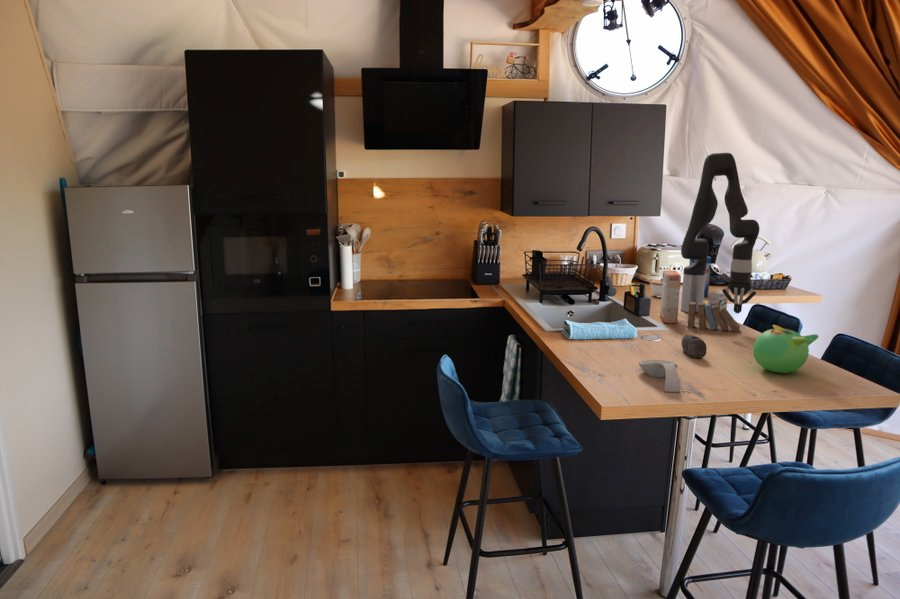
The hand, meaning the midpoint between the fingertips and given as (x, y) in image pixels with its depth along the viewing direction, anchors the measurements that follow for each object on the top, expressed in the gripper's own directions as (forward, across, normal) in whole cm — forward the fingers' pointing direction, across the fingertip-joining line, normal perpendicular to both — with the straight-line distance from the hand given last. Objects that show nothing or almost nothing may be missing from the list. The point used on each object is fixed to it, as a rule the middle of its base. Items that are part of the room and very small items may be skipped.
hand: (737, 313), depth 262 cm
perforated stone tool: (+8, +13, +43) cm, 46 cm away
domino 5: (+7, -1, 0) cm, 7 cm away
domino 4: (+7, +4, 0) cm, 8 cm away
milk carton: (+8, +21, -75) cm, 79 cm away
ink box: (+8, +9, -22) cm, 25 cm away
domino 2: (+7, +12, 0) cm, 15 cm away
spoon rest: (+8, +18, +78) cm, 80 cm away
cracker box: (+8, +27, -9) cm, 29 cm away
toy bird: (+8, -15, +52) cm, 55 cm away
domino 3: (+7, +8, 0) cm, 11 cm away
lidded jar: (+8, +38, -63) cm, 74 cm away
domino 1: (+8, +17, 0) cm, 19 cm away
